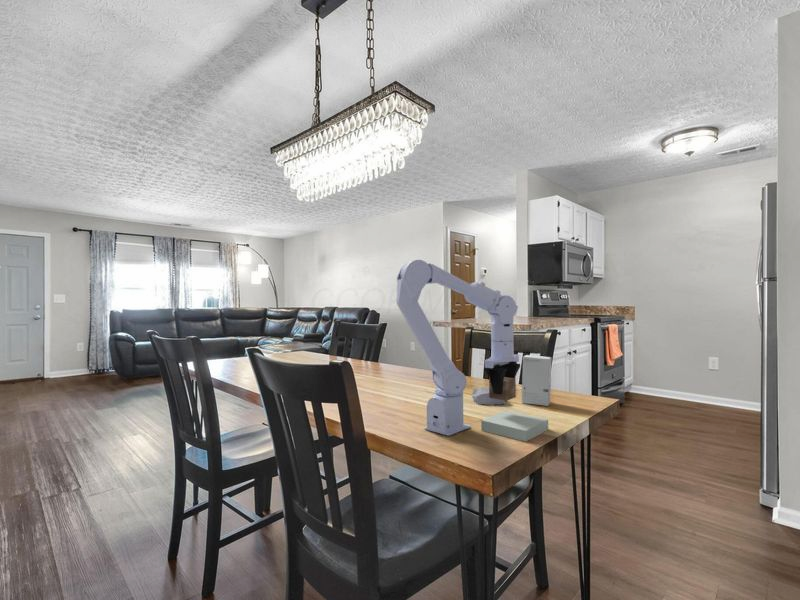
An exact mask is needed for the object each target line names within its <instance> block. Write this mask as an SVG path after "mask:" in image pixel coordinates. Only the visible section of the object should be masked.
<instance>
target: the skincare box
mask: <svg viewBox="0 0 800 600" xmlns="http://www.w3.org/2000/svg"><path fill="white" fill-rule="evenodd" d="M521 380H522V381H521V383H522V384H521V403H522V404H525V405H538V406H545V407H549V406H550V403H551V389H552V357H551V356H541V355H531V354H526V355H524V356H523V357H522V379H521Z"/></svg>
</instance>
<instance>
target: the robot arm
mask: <svg viewBox="0 0 800 600" xmlns="http://www.w3.org/2000/svg"><path fill="white" fill-rule="evenodd" d="M396 284H397V285H396V300H395V301H396V305H397V307H398V309H399V311H400V312H401V314H402V316H403V318H404V319H405V321H406V323H407V325H408V327H409V328H410V329H409V330H411V332H412V334H413V336H414V338H415V339H416V341H417V343H418V346H420V349H421V350H422V352H423V354H424V356H425V358H426V360H427V361H428V364H429V365H428V366H429V368H430V371H431V374H432V380H433V383H434V385H435V386H436V387H435V389H434V394H433V397H431V398H430V399H428V401H427V403H426V426H424V428H423V429H424V430H426V431H430V432H433V433H437V434H441V435H443V436H452V435H454V434H457V433H460V432H462V431H465V430H466V429H469V428H472V427H471V425H470V424H467V423H465V422H464V391H465V389H466V387H467V378H466V375H465V374H464V373H463V372H462V371H461V370H459V369H458V368H457V367H456V365H455V363H454V362H453V361H452V360H451V358H450V357H449V355H447V353H446V350H445V349H444V347H443V345H442V343H441V342H440V340H439V338H438V336H437V335H436V332H435V331H434V329H433V327H432V326H431V324H430V321H429V320H428V318H427V316H426V314H425V313H424V311H423V309H422V307H421V305H420V304H419V298H420V296H421V293H422V292H423V291H422V290H423V289H424V287H425V286H427V285H428V284H431V285H432V284H438V285H441V286H442V287H445V288H447V289H450V290H451V291H454V292H456V293H459V294H462V295H463V297H464V300H465V302H467V303H469V304H471V305H473V306H475V307H477V308H479V309H481V310H484V311H486V312H488V314H489V315H490V326H491V327H490V340H491V342H490V343H491V345H490V346H491V347H490V349H491V356H490V357H489V358H487V359H485V360H484V371H485V372H486V374H487V377H488V378H489V379H490V382H491V386H492V389H493V393H494V394H499V395H501V394H502V391H503V381H504V377H509V378H516V376H517V374H518V372H519V369H520V368H521V364H520V363H518V362H520V355H519V354H514V351H515V347H514V316H515V315H516V313H517V312H518V305H516V301H515V300H514V298H513V297H512V296H511V295H506V294H505V295H502V293H501V291H500V290H494V289H492V288H490V287H487V286H485V285H486V283H485V282H483V281H479V282H477V281H475V282H474V281H473V282H472V283H470V282H467V281H465V280H463V279H461V278H459V277H458V276H456V275H453V273H450V272H448V271H446V270H444V269H443V268H441V267H439V266H437V265H435V264H433V263H427V261H425V260H423V259H414V260H412V261H410V262H409V263H406V264H404V265H402V266H401V268H400V270H399V272H398V274H397V276H396ZM489 379H488V380H489Z"/></svg>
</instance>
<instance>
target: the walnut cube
mask: <svg viewBox="0 0 800 600" xmlns="http://www.w3.org/2000/svg"><path fill="white" fill-rule="evenodd" d="M516 380H517V378H516V377H515V378H509V377H504V381H503V391H502V394H501V395H499V394H494V393H493V389H492V386H491V382H490V379H488V387H489V398H494V399H499V400H504V401H505V402H506V401H507V402H508V401H509V400H513V399H515V398H516V397H517V390H516V389H517V387H516V386H517V385H516V383H517V382H516Z"/></svg>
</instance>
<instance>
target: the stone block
mask: <svg viewBox="0 0 800 600" xmlns="http://www.w3.org/2000/svg"><path fill="white" fill-rule="evenodd" d="M471 398H472V399H473V402H474V403H475V402H476V403H475V404H477V403H478V404H477V405H479V404H504V405H505V402H506V401H505V400H499V399H494V398H489V386H484V387H483V386H482V387H479V388H475V389H472V393H471Z"/></svg>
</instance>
